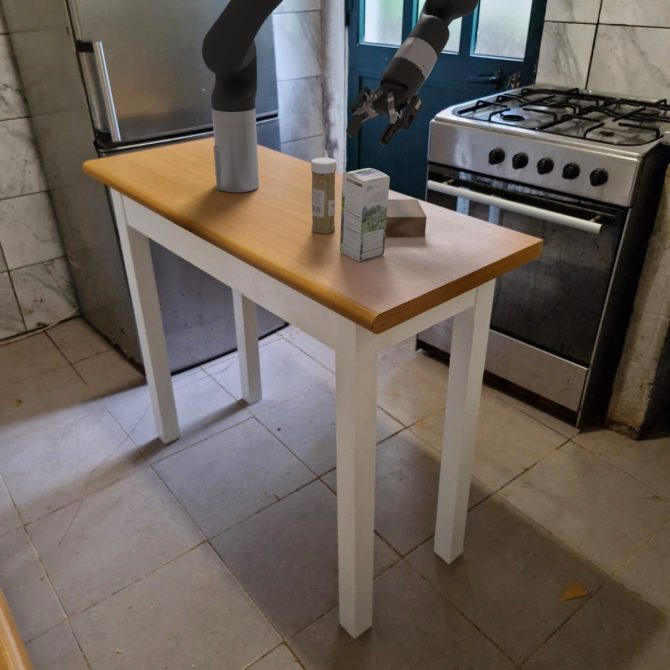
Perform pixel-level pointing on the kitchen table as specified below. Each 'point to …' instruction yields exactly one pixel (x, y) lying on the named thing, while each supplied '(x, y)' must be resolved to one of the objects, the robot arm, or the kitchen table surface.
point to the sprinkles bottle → (323, 195)
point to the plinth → (405, 218)
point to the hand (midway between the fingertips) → (365, 139)
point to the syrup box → (364, 213)
